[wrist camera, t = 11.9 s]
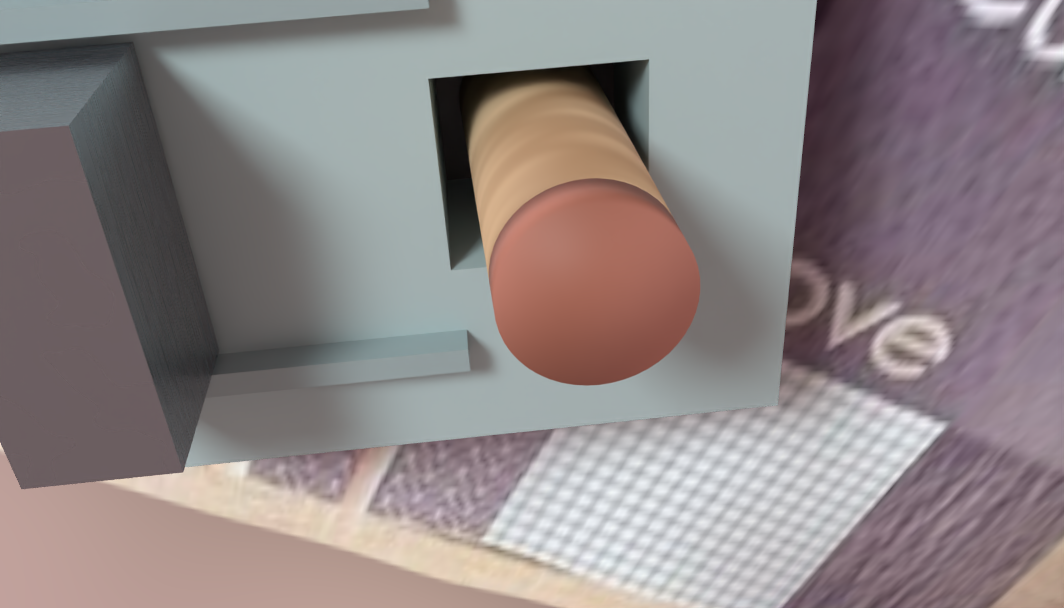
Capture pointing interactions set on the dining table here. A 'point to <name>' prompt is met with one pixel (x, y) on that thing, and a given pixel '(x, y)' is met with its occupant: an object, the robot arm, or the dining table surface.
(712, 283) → the block
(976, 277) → the dining table surface
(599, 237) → the pin
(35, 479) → the bar
